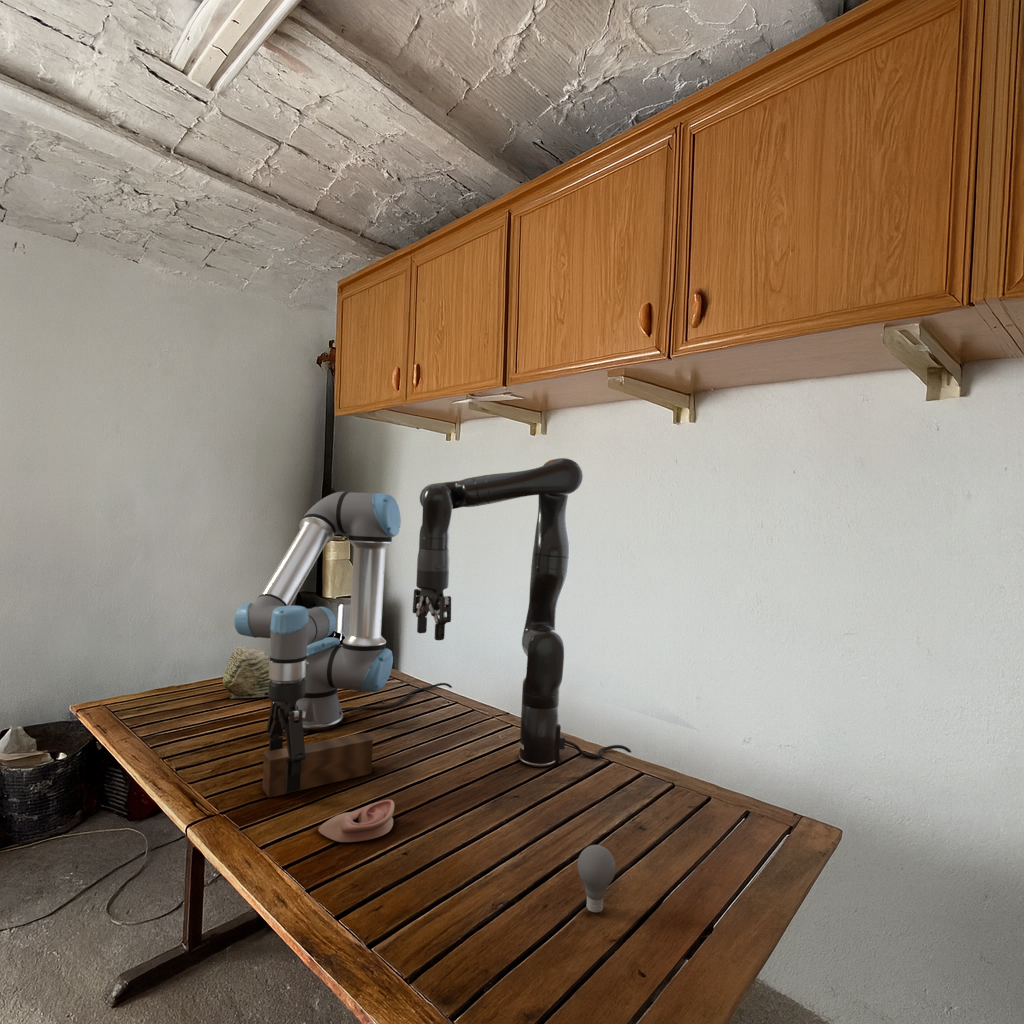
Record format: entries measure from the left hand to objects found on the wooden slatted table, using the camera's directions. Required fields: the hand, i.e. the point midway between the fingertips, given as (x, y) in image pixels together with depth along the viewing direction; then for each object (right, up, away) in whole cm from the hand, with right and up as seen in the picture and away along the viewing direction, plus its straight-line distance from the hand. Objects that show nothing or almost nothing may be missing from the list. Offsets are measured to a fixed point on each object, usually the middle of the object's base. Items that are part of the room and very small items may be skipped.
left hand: (283, 778), depth 136 cm
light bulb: (+62, -6, -36) cm, 72 cm away
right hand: (+30, +28, +13) cm, 43 cm away
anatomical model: (+19, -3, -15) cm, 25 cm away
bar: (+6, -2, +5) cm, 8 cm away
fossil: (-31, 0, +62) cm, 69 cm away
